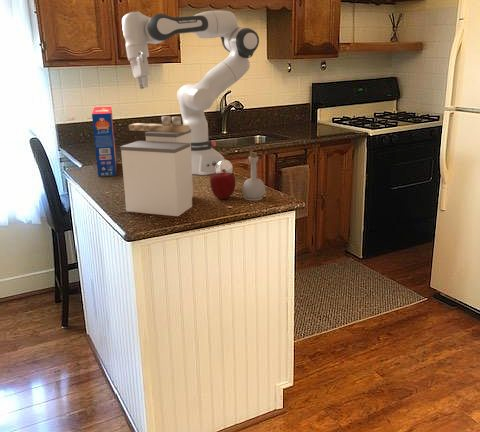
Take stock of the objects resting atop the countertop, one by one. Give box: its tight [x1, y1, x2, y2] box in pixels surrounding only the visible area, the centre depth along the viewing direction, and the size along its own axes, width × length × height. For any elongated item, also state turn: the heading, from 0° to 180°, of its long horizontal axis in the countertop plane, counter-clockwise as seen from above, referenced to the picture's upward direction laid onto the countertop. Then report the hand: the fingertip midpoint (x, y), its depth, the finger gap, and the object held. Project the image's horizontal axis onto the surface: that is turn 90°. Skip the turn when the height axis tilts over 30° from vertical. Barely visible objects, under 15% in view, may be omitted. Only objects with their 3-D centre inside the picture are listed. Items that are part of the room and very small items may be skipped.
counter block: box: [119, 129, 194, 217], centre depth 188 cm, size 20×24×26 cm
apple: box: [209, 172, 236, 200], centre depth 197 cm, size 10×10×10 cm
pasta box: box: [91, 106, 117, 177], centre depth 245 cm, size 28×8×28 cm, turn 13°
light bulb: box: [215, 159, 234, 174], centre depth 210 cm, size 7×7×12 cm
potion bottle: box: [241, 150, 267, 202], centre depth 195 cm, size 9×9×18 cm
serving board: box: [128, 115, 190, 132], centre depth 190 cm, size 22×6×5 cm, turn 71°
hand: (144, 88), depth 218 cm, fingers open, 8 cm apart
